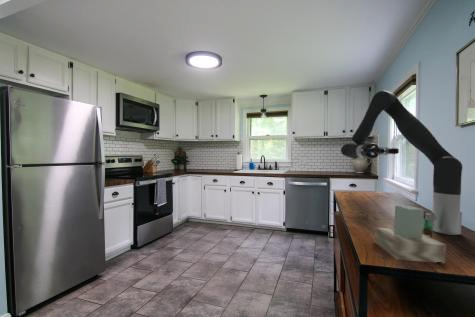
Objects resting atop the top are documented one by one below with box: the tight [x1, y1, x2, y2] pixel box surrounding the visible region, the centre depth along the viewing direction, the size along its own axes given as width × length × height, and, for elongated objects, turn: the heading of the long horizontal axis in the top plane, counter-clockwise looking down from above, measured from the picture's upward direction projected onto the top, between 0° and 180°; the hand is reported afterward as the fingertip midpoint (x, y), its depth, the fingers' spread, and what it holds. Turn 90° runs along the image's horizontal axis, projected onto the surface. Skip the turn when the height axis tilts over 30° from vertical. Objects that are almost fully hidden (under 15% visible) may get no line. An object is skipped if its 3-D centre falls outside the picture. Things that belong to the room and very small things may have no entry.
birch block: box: [374, 227, 447, 264], centre depth 83 cm, size 14×15×6 cm
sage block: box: [393, 205, 425, 238], centre depth 83 cm, size 6×6×10 cm
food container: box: [422, 209, 437, 238], centre depth 102 cm, size 12×6×10 cm, turn 168°
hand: (388, 150), depth 109 cm, fingers open, 8 cm apart
